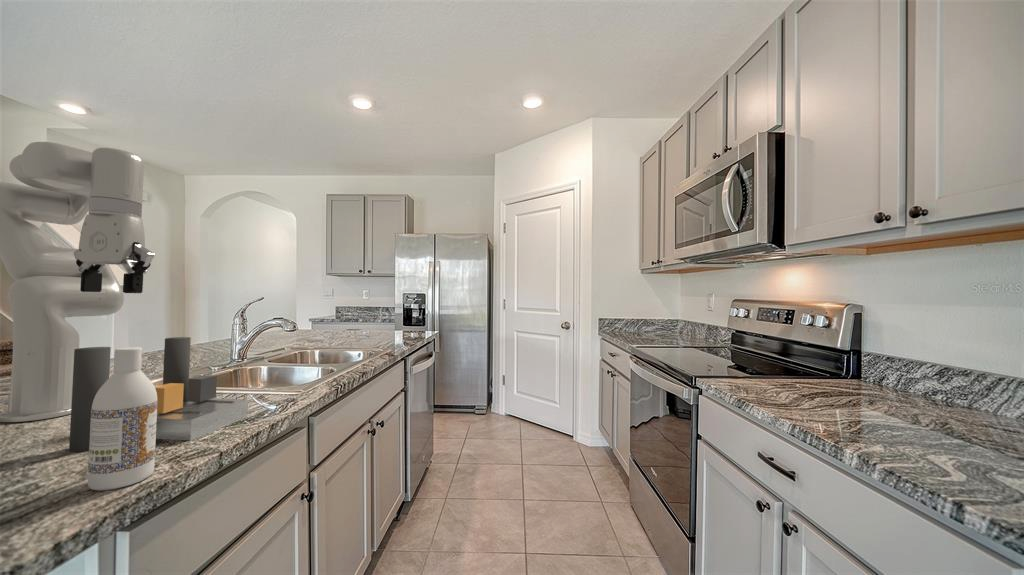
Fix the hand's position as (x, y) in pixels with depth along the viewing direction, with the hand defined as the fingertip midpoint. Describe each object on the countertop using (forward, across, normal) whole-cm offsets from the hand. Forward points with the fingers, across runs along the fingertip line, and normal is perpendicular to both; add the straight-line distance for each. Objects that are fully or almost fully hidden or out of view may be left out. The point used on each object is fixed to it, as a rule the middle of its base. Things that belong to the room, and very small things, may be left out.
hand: (111, 292), depth 76 cm
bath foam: (+28, +26, -18) cm, 42 cm away
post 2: (+28, +6, +9) cm, 30 cm away
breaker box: (+28, +16, +4) cm, 33 cm away
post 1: (+28, +7, -8) cm, 30 cm away
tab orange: (+24, +13, +1) cm, 27 cm away
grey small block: (+24, +13, +9) cm, 29 cm away
